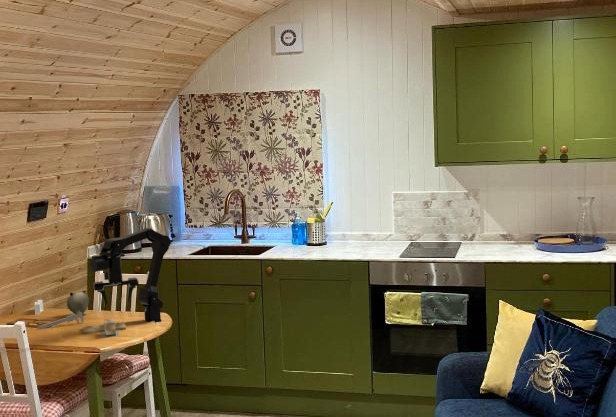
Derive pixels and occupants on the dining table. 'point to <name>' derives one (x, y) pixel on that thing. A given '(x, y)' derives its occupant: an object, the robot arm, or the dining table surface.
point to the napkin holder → (38, 307)
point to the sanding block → (109, 327)
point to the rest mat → (110, 336)
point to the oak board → (102, 328)
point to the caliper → (68, 318)
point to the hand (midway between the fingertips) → (117, 303)
